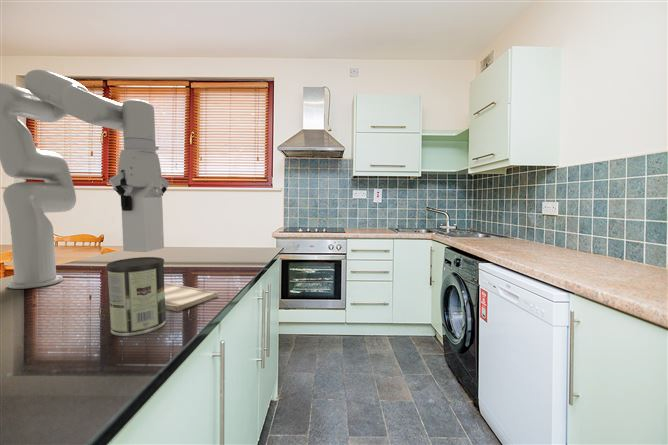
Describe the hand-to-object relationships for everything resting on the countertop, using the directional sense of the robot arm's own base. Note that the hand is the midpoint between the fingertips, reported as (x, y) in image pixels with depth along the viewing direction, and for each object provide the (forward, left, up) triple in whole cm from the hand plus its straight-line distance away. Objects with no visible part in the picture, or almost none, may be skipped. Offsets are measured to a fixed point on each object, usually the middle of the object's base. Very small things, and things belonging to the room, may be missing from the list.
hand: (142, 209), depth 89 cm
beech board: (+9, 0, -24) cm, 26 cm away
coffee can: (+21, -16, -24) cm, 36 cm away
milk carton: (0, 0, -12) cm, 12 cm away
